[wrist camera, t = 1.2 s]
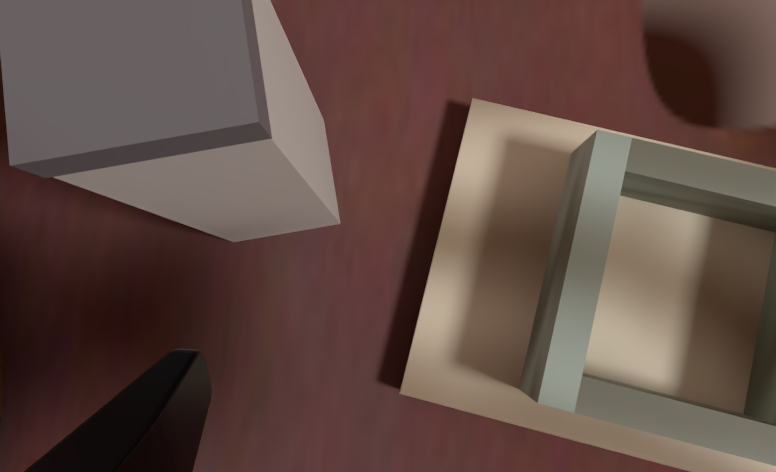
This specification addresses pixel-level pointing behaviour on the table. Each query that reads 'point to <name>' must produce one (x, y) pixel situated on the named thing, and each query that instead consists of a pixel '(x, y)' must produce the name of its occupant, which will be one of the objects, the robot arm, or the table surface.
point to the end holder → (604, 292)
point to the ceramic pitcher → (1, 381)
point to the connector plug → (169, 110)
